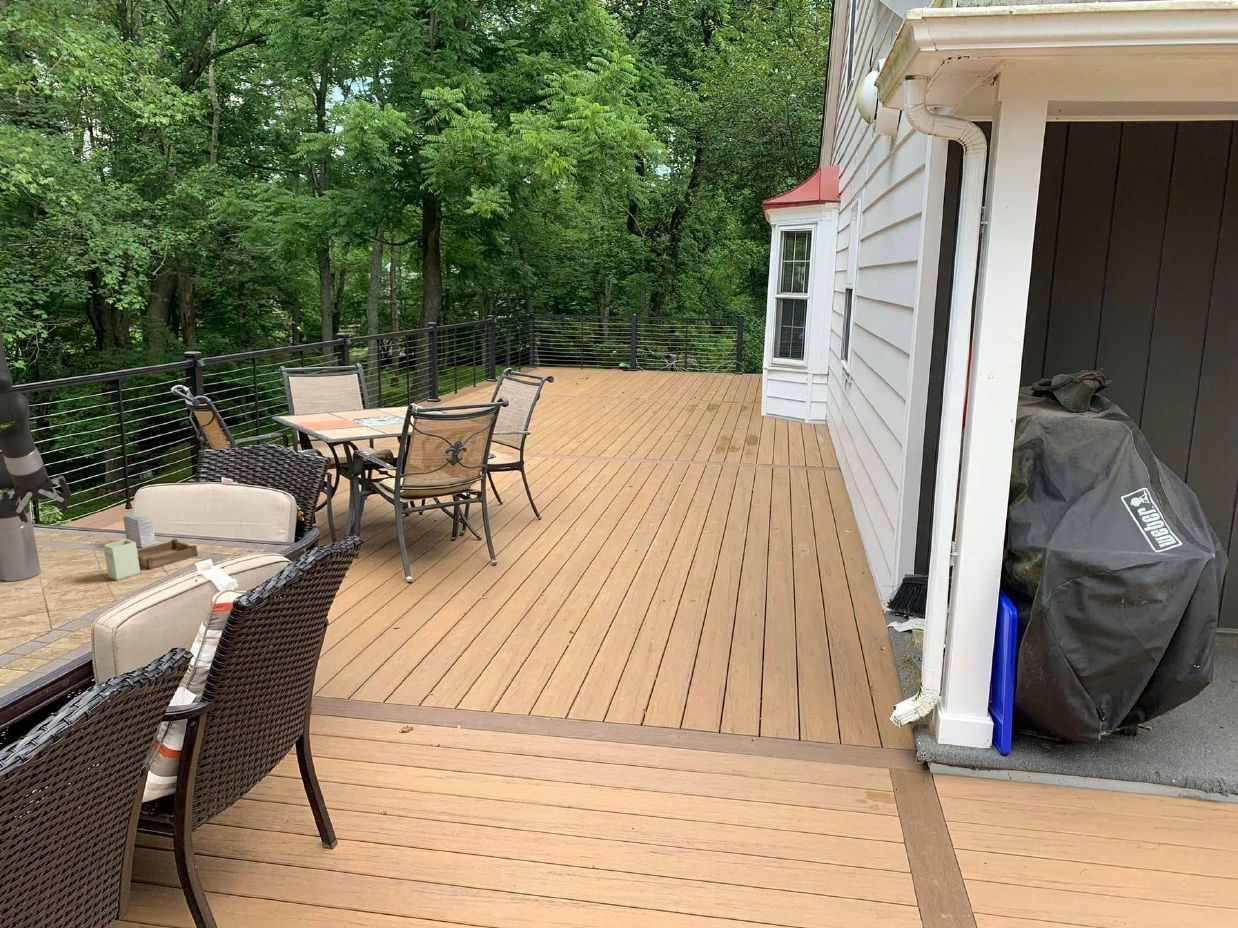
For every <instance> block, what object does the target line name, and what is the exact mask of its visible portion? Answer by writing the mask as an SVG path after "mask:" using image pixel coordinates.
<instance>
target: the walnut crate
mask: <svg viewBox="0 0 1238 928" xmlns="http://www.w3.org/2000/svg"><path fill="white" fill-rule="evenodd" d="M197 547H198V546H197V545H194V544H193V545H191V544H189V543H186V542H182V541H179V540H178V539H177V538H174V539H171V540H170V541H167V542H163V543H160V544H157V545H156V544H155V545H151V546H148V547H144V548H141V549H137V554H138V560H139V567H142V568H144V569H147V570H153V569H157V568H160V567H164V566H167V565H171V564H175V563H177V562H181V561H184V560H189V559H192V558H194V557H193V556H196V557H198V556H199V555H198V554H199V553H198V548H197ZM191 557H192V558H191ZM188 558H189V559H188Z"/></svg>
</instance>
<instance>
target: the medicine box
mask: <svg viewBox="0 0 1238 928" xmlns="http://www.w3.org/2000/svg"><path fill="white" fill-rule="evenodd" d="M153 524H154V522H153V518H152V516H150V515H147V514H146V515H145V514H141V513H133V514H128V515H126V516H123V525H124V530H125V539H128V540H131V541H134V542H136V547H137V548H141V549H144V548H148V547H152V546H156V544H157V542H156V537H155V531H154V525H153Z"/></svg>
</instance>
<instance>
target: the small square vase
mask: <svg viewBox="0 0 1238 928" xmlns="http://www.w3.org/2000/svg"><path fill="white" fill-rule="evenodd" d="M103 550H104V551H103V552H104V558H105V564H106V570H107V575H108V578H109V579H112V580H114V581H117V582H119V581H123V580H125V579H126V580H127V579H129V578H133V577H136V576H140V575H141V569H140V567H141V566H139V560H138V554H137V550H138V547H137V546H136V542H134V541H131V540H128V539H126V538H125V539H121V540H118V541H113V542H110V543H106V544H103Z"/></svg>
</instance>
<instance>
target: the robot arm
mask: <svg viewBox="0 0 1238 928" xmlns="http://www.w3.org/2000/svg"><path fill="white" fill-rule="evenodd" d="M5 353H6V352H5V347H4V338H3V331H2V325H1V323H0V426H3V425H8V424H11V423H12V424H11V425H8V426H6V427H4V428H2V429H1V430H0V451H1V453H0V491H1V496H2V498H1V499H0V579H1V581H3V580H5V581H4V582H14V581H15V582H16V581H22V580H26V579H30V578H33V577H36V576H39V574H41V572H42V570H41V565H40V564H41V563H40V560H39V559H40V558H39V554H38V552H39V551H38V548H37V543H36V542H37V541H36V536H35V531H34V526H33V519H32V515H31V514H32V513H31V509H30V503H29V501H31V502H34V501H38V500H41V499H45V498H46V497H48V498H50V499H53V500H56V501H58V504H59V507H60V511H61V512H62V514H65V513H66V511H68V505H67V501H66V499H67V498H68V499H70V498H71V497H72V493H71V490H70V487H69V486H68V482H67V480H66V479H65V477H64V475H63V474H58V476H57V477H54V478H50V477H49V475H48V472H47V470H46V466H45V464H44V462H43V459H42V457H41V453H40V452H39V450H38V448H37V446H36V444H35V441H34V438H33V435H32V432H31V428H30V403H29V400H28V398H27V397H26V396H25V395H24V394H22V393H21V392H18V391H10V390H11V389H12V388H13V386H14V384H13V383H14V382H13V378H12V375H11V372H10V369H9V366H8V363H7V358H6V356H5V355H6V354H5ZM9 391H10V392H9ZM53 485H56V486H57V487H61V489H62V492H60V491H59V490H56V489H55V488H54V487H53Z"/></svg>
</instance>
